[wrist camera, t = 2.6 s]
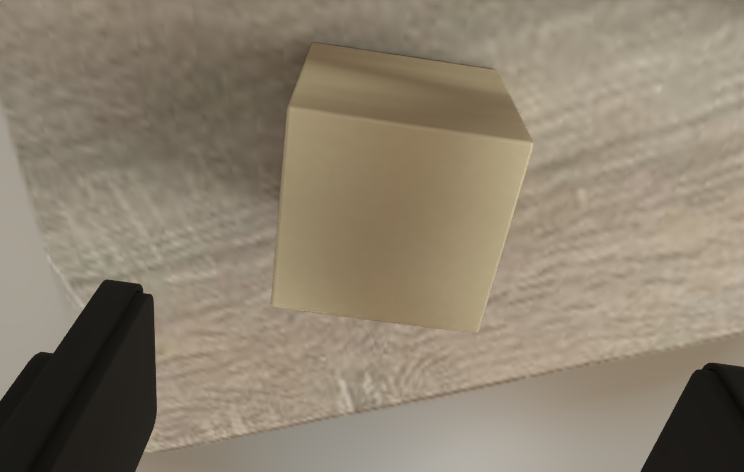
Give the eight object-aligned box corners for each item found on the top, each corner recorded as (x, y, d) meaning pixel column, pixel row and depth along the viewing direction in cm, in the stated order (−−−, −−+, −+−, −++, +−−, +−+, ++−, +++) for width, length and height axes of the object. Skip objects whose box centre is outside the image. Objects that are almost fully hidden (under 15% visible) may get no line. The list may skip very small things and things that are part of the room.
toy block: (295, 207, 21) (269, 308, 17) (311, 40, 19) (286, 106, 14) (458, 230, 22) (478, 335, 17) (498, 69, 19) (536, 142, 14)
